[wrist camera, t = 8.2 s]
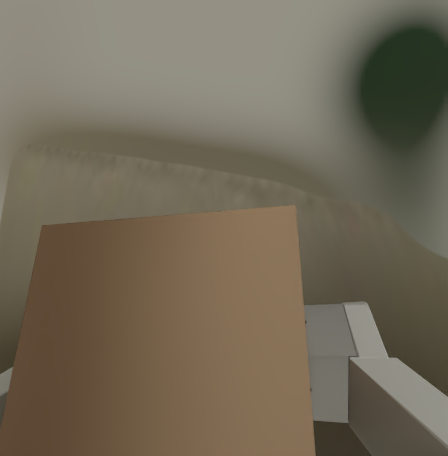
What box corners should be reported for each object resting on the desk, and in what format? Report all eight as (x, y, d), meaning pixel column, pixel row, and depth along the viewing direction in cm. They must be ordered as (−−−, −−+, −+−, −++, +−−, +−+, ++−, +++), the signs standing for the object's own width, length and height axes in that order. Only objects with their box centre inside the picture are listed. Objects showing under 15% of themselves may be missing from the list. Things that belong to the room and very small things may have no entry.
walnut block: (297, 299, 14) (296, 204, 4) (305, 407, 12) (327, 590, 3) (205, 301, 14) (42, 225, 5) (202, 403, 13) (-23, 540, 4)
